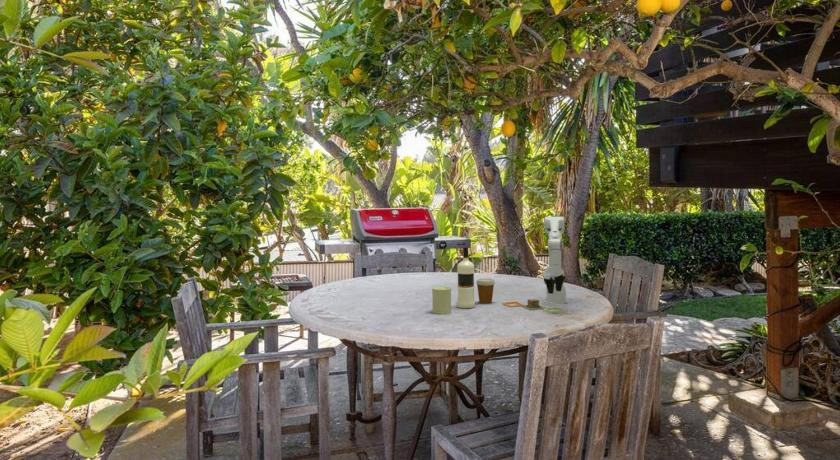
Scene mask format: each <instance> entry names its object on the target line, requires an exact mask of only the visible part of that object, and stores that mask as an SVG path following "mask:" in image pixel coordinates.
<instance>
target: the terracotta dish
mask: <svg viewBox="0 0 840 460" xmlns="http://www.w3.org/2000/svg"><path fill="white" fill-rule="evenodd" d="M501 303H502V305H503V306H506V307H508V308H518V307H521V308H522V305H525V304H524V303H522V302H519V301H507V302H505V301H503V302H501Z"/></svg>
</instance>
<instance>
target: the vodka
mask: <svg viewBox="0 0 840 460" xmlns="http://www.w3.org/2000/svg"><path fill="white" fill-rule="evenodd" d="M456 269H457V272H456V273H457V298H456V307H458V308H459V309H462V310H463V309H467V310H468V309H473V308H475V307H476V300H475V265H474V263H473V262H472V261H470V260H469V247H468V246H463V247H462V260H461V261H460V262H459V263H458V264H457V266H456Z"/></svg>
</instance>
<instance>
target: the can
mask: <svg viewBox="0 0 840 460" xmlns="http://www.w3.org/2000/svg"><path fill="white" fill-rule="evenodd" d="M431 289H432V311H431V312H432V313H433V314H437V315H446V314H451V313H452V287H450V286H434V287H432V288H431Z"/></svg>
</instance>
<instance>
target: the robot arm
mask: <svg viewBox="0 0 840 460" xmlns="http://www.w3.org/2000/svg"><path fill="white" fill-rule="evenodd" d="M543 220H544V223H543V224H544V226H543V227H544V233H545V234H547V235H548V240H547V249H548V266H547V267H546V268H544V271H543V284H544V285H546V289H545V290H546V293H545V294H546V295H545V297H546V299H545V300H543V302H544V303H547V304H550V305H556V304H567V289H566V286H565V285H564V284H565V279H566V275H565V271H564V269H563V268H562V251H563V238H562V234H563V233H564V228H565V217H564V216H545V217H544V219H543Z"/></svg>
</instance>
